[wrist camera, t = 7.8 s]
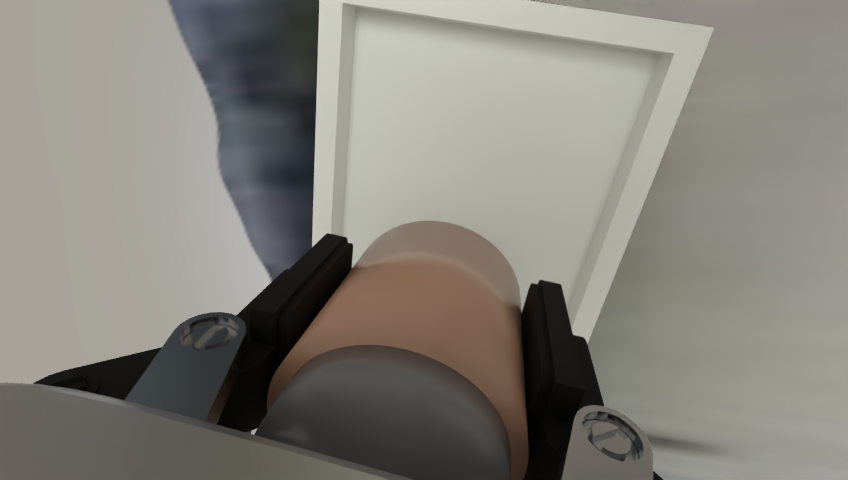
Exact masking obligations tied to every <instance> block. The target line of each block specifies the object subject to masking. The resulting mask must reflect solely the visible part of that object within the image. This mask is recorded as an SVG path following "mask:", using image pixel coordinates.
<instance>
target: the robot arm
mask: <svg viewBox="0 0 848 480" xmlns="http://www.w3.org/2000/svg"><path fill="white" fill-rule="evenodd" d="M352 256H353V244H352V243H348V239H347V237H343V236H338V235H334V234H329V233H327V234H326V235H324V236H323V237H322V238H321V239H320V240H319V241H318V242H317V243H316V244H315V245H314V246H313V247H312V248H311V249H310V250H309V251H308V252H307V253H306V254H305V255H304V256H303V257H302V258H300V259H299V260H298V261H297V262H296V263H295V264H294V265H293V266H292V267H291V268H290V269H286V270H285V271H283V272H282V273H281V274H280V275H279V276H278V277H277V278H276V279H275V280H274V281H273V282H272V283H270V284H269V285H268V286H267V287H266V288H265V289H264V290H263V291H262V292H261V293H260V294H259V295H258V296H257V297H256V298H255V299H253V300H252V301H251V302H250V303H249V304H248V305H247V306H246V307H245V308H244V309H243V310H242V311H241V312H240V313H239V314H238V315H237V316H235V315H233V314H229V313H222V312H219V313H218V312H217V313H207V314H201V315H198V316H195V317H193V318H190V319H188V320H186V321H185V322H183V323H181V324H180V325H179V326H178V327H177V328H176V329H175V330H174V332H173V333H172V334H171V336H170V337H169V338H168V340H167V341H166V343H165V344H164V345H163V347H162V348H158V349H153V350H149V351H145V352H140V353H136V354H132V355H128V356H123V357H119V358H116V359H111V360H107V361H103V362H98V363H94V364H90V365H86V366H82V367H77V368H73V369H69V370H65V371H62V372H59V373H55V374H53V375H49V376H47V377H45V378H43V379H41V380H39V381H37V382H35V383H33V384H23V383H0V480H413V479H410V478H406V477H403V476H399V475H396V474H392V473H388V472H385V471H381V470H378V469H374V468H371V467H367V466H364V465H360V464H357V463H353V462H349V461H346V460H342V459H339V458H335V457H332V456H328V455H324V454H321V453H317V452H314V451H310V450H307V449H303V448H299V447H296V446H292V445H289V444H285V443H281V442H278V441H274V440H271V439H267V438H263V437H260V436H256V435H252V434H251V430H254V429H256V428H258V426H259V424H260V423H261V421H262V420H263V418H264V417H265V415H266V414H267V394H268V390H269V386H270V382H271V380H272V378H273V376H274V374H275V372H276V370H277V369H278V367H279V366H280V365H281V363H282V362H283V360H284V359H285V358H286V356H287V355H288V354H289V352H290V351H291V350H292V348H293V347H294V346H295V344H296V343H297V342H298V340H299V339H300V338H301V336H302V335H303V334H304V332H305V331H306V330H307V328H308V327H309V326H310V324H311V323H312V322H313V320H314V319H315V318H316V316H317V315H318V314H319V312H320V311H321V309H322V308H323V307H324V305H325V304H326V303H327V301H328V300H329V299H330V297H331V296H332V295H333V293H334V292H335V291H336V289H337V288H338V287H339V285H340V284H341V283H342V281H343V280H344V279H345V277H346V276H347V275H348V273H349V272H350V271H351V269H352ZM522 331H523V351H524V370H525V390H526V410H527V429H528V449H529V454H528V466H527V469H526V473H525V476H524V479H523V480H663V479H662V478H661V477H660V476H658V475H657V474H656V473H655V472H654V471H653V453H652V448H651V444H650V442H649V440H648V438H647V437H646V435H645V433H644V432H643V431H642V430H641V429H640V428H639V427H638V426H637V424H635V423H634V422H633V421H632V420H630V419H629V418H628V417H626V416H625V415H623V414H621V413H619V412H618V411H616V410H613V409H610V408H607V407H604V404H603V400H602V396H601V393H600V389H599V385H598V382H597V378H596V375H595V371H594V367H593V364H592V360H591V356H590V353H589V349H588V345H587V342H586V340H585V338H584V337H581V336H576V335H573V333H572V329H571V324H570V320H569V316H568V312H567V307H566V303H565V299H564V294H563V290H562V286H561V284H558V283H554V282H549V281H544V280H539V282H538V284H534V283H531V284H530V287H529V290H528V293H527V297H526V300H525V303H524V307H523V310H522Z"/></svg>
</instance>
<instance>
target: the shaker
mask: <svg viewBox="0 0 848 480" xmlns="http://www.w3.org/2000/svg"><path fill="white" fill-rule="evenodd" d="M255 435H256V436H260V437H263V438H267V439H271V440H274V441H278V442H281V443H285V444H289V445H292V446H296V447H299V448H303V449H307V450H310V451H314V452H317V453H321V454H324V455H328V456H332V457H335V458H339V459H342V460H346V461H349V462H353V463H357V464H360V465H364V466H367V467H371V468H374V469H378V470H381V471H385V472H388V473H392V474H396V475H399V476H403V477H406V478H410V479H413V480H523V479H524V476H525V473H526V469H527V466H528V454H529V449H528V429H527V410H526V390H525V370H524V351H523V331H522V311H521V296H520V288H519V284H518V280H517V278H516V275H515V273H514V271H513V269H512V267H511V265H510V264H509V262H508V260H507V259H506V258H505V257H504V255H503V254H502V253H501V252H500V251H499V250H498V249H497V248H496V247H495V246H494V245H493V244H492V243H491V242H489V241H488V240H487V239H485V238H484V237H483V236H481V235H479V234H477V233H475V232H474V231H472V230H469V229H467V228H465V227H462V226H459V225H456V224H452V223H448V222H441V221H417V222H411V223H407V224H403V225H400V226H397V227H395V228H392V229H390V230H389V231H387V232H385V233H383V234H382V235H381V236H379V237H378V238H377V239H375V240H374V241H373V242H372V243H371V244H370V245H369V247H368V248H367V249H366V251H365V252H364V253H363V255H362V256H361V257H360V259H359V260H358V261H357V263H356V264H355V265H354V267H353V268H352V269H351V271H350V272H349V273H348V275H347V276H346V277H345V279H344V280H343V281H342V283H341V284H340V285H339V287H338V288H337V289H336V291H335V292H334V293H333V295H332V296H331V297H330V299H329V300H328V301H327V303H326V304H325V305H324V307H323V308H322V309H321V311H320V312H319V314H318V315H317V316H316V318H315V319H314V320H313V322H312V323H311V324H310V326H309V327H308V328H307V330H306V331H305V332H304V334H303V335H302V336H301V338H300V339H299V340H298V342H297V343H296V344H295V346H294V347H293V348H292V350H291V351H290V352H289V354H288V355H287V356H286V358H285V359H284V360H283V362H282V363H281V365H280V366H279V367H278V369H277V370H276V372H275V374H274V376H273V378H272V380H271V382H270V386H269V390H268V394H267V414H266V415H265V417H264V418H263V420H262V421H261V423H260V424H259V426H258V429H257V431H256V433H255Z"/></svg>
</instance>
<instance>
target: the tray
mask: <svg viewBox="0 0 848 480" xmlns="http://www.w3.org/2000/svg"><path fill="white" fill-rule="evenodd" d="M713 30H714V27H708V26H701V25H694V24H687V23H680V22H673V21H666V20H659V19H652V18H645V17H639V16H632V15H625V14H618V13H611V12H604V11H597V10H590V9H583V8H576V7H569V6H563V5H556V4H549V3H542V2H535V1H528V0H320V1H319V34H318V67H317V100H316V133H315V166H314V199H313V231H312V247H313V246H314V245H315V244H316V243H317V242H318V241H319V240H320V239H321V238H322V237H323V236H324V235H326V234H327V233H329V234H334V235H338V236H343V237H347V239H348V243H352V244H353V256H352V268H353V267H354V265H355V264H356V263H357V261H358V260H359V259H360V257H361V256H362V255H363V253H364V252H365V251H366V249H367V248H368V247H369V245H370V244H371V243H372V242H373V241H374V240H375V239H377V238H378V237H379V236H381V235H382V234H383V233H385V232H387V231H389V230H390V229H392V228H395V227H397V226H400V225H403V224H407V223H411V222H417V221H441V222H448V223H452V224H456V225H459V226H462V227H465V228H467V229H469V230H472V231H474V232H475V233H477V234H479V235H481V236H483V237H484V238H485V239H487V240H488V241H489V242H491V243H492V244H493V245H494V246H495V247H496V248H497V249H498V250H499V251H500V252H501V253H502V254H503V255H504V257H505V258H506V259H507V260H508V262H509V264H510V265H511V267H512V269H513V271H514V273H515V275H516V278H517V280H518V284H519V288H520V296H521V311H522V310H523V307H524V303H525V300H526V297H527V293H528V290H529V287H530V284H531V283H534V284H538V282H539V280H544V281H549V282H554V283H558V284H561V286H562V290H563V294H564V299H565V303H566V307H567V312H568V316H569V320H570V324H571V329H572V333H573V335H576V336H581V337H584V338H585V340H586V342H587V344H588V341H589V339H590V336H591V334H592V331H593V329H594V326H595V324H596V321H597V319H598V316H599V314H600V311H601V309H602V306H603V304H604V302H605V299H606V297H607V294H608V292H609V289H610V287H611V284H612V282H613V279H614V277H615V274H616V272H617V269H618V267H619V264H620V262H621V259H622V257H623V254H624V252H625V249H626V247H627V244H628V242H629V239H630V237H631V234H632V232H633V229H634V227H635V224H636V222H637V219H638V217H639V214H640V212H641V209H642V207H643V204H644V202H645V199H646V197H647V194H648V192H649V189H650V187H651V184H652V182H653V179H654V177H655V175H656V172H657V170H658V167H659V165H660V162H661V160H662V157H663V155H664V152H665V150H666V147H667V145H668V142H669V140H670V137H671V135H672V132H673V130H674V127H675V125H676V122H677V120H678V117H679V115H680V112H681V110H682V107H683V105H684V102H685V100H686V97H687V95H688V92H689V90H690V87H691V85H692V82H693V80H694V77H695V75H696V72H697V70H698V67H699V65H700V62H701V60H702V57H703V55H704V53H705V50H706V48H707V45H708V43H709V40H710V38H711V35H712V33H713Z"/></svg>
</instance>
